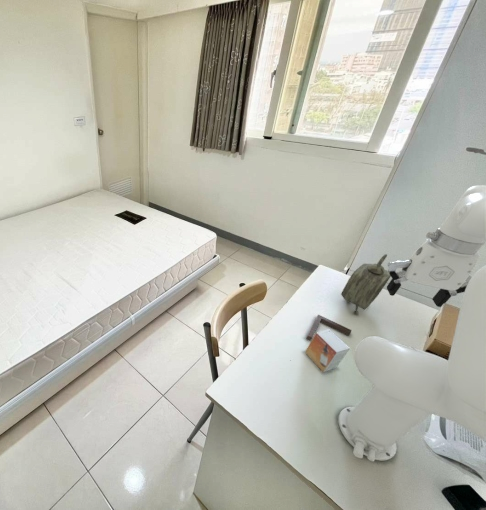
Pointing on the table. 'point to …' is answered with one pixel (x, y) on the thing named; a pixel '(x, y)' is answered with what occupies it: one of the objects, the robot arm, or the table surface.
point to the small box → (326, 350)
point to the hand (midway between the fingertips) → (412, 297)
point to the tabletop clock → (365, 284)
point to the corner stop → (328, 323)
